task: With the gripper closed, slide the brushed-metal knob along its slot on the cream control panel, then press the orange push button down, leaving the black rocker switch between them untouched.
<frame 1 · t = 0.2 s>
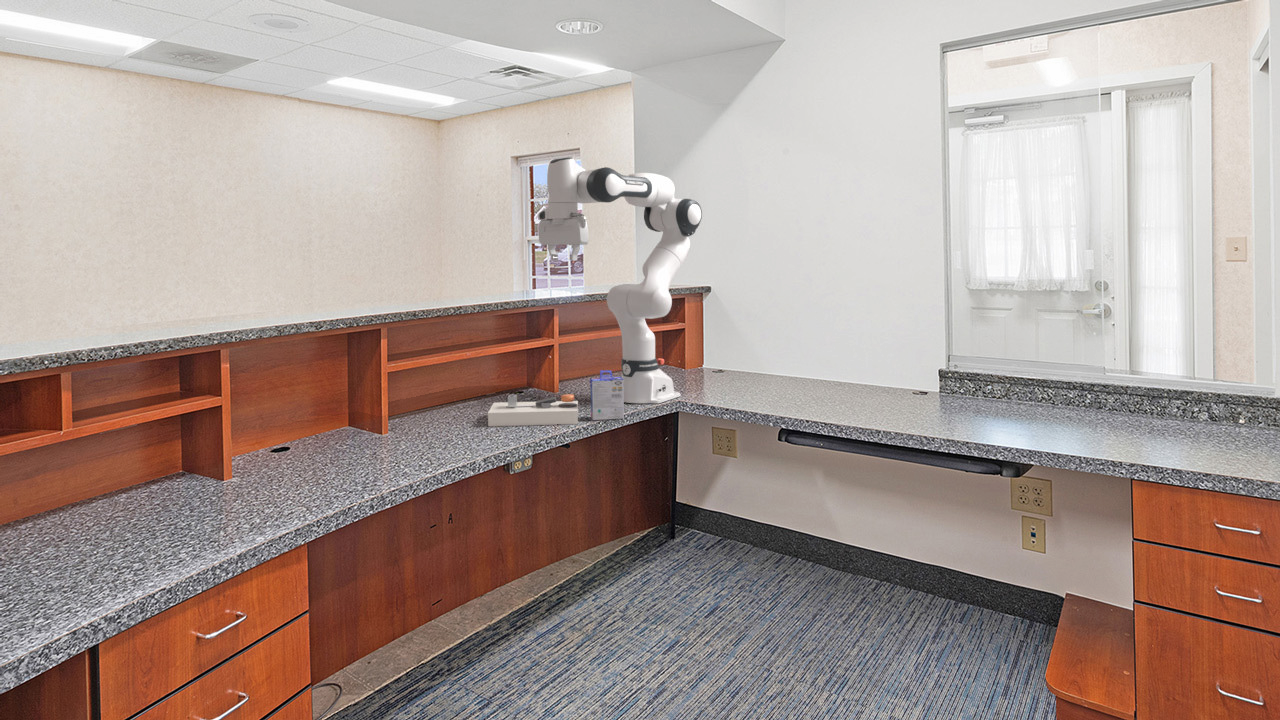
hand: (563, 260, 217), 48 cm above the worktop, fingers open, 8 cm apart
rocker switch: (546, 401, 218), point 6 cm above the worktop, hinge at 12.0°
slider knob: (512, 400, 217), point 6 cm above the worktop, slide at 0.0 cm
push button: (567, 398, 218), point 6 cm above the worktop, slide at 0.0 cm
ink cartridge box: (607, 418, 220), on the worktop
control panel: (534, 419, 218), on the worktop
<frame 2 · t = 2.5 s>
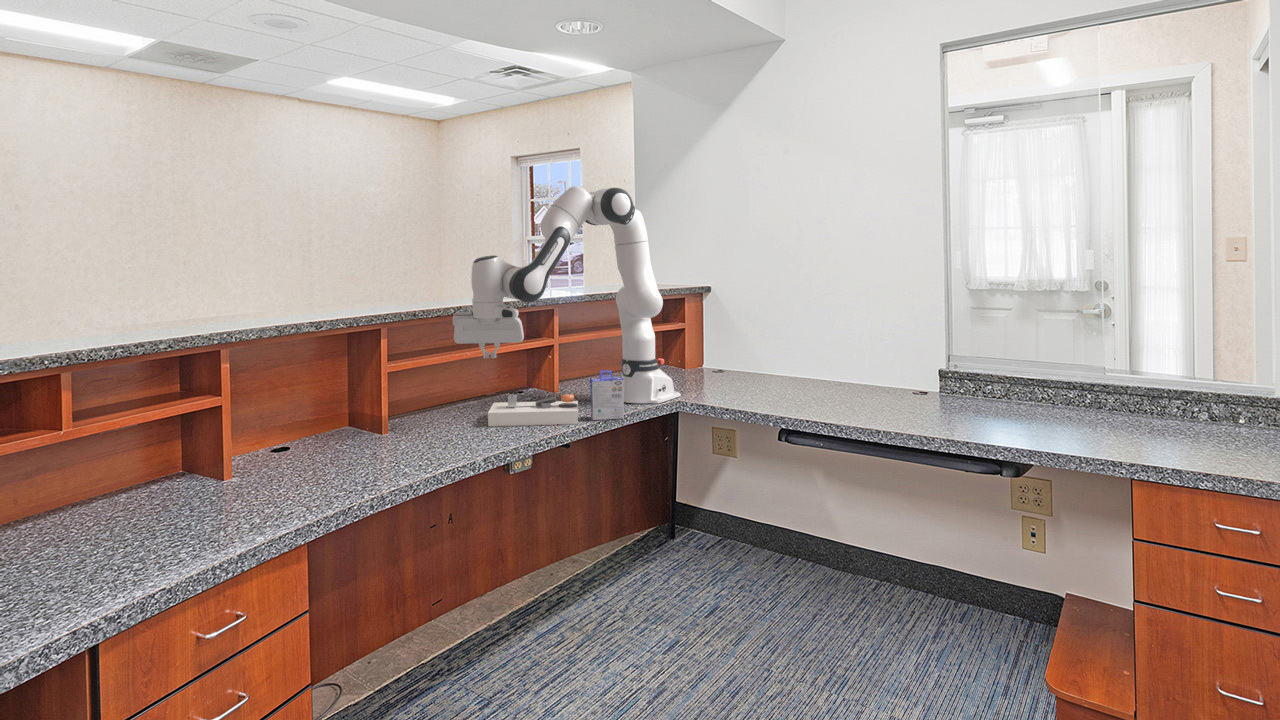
hand: (490, 357, 214), 19 cm above the worktop, fingers closed
nothing on the worktop moved.
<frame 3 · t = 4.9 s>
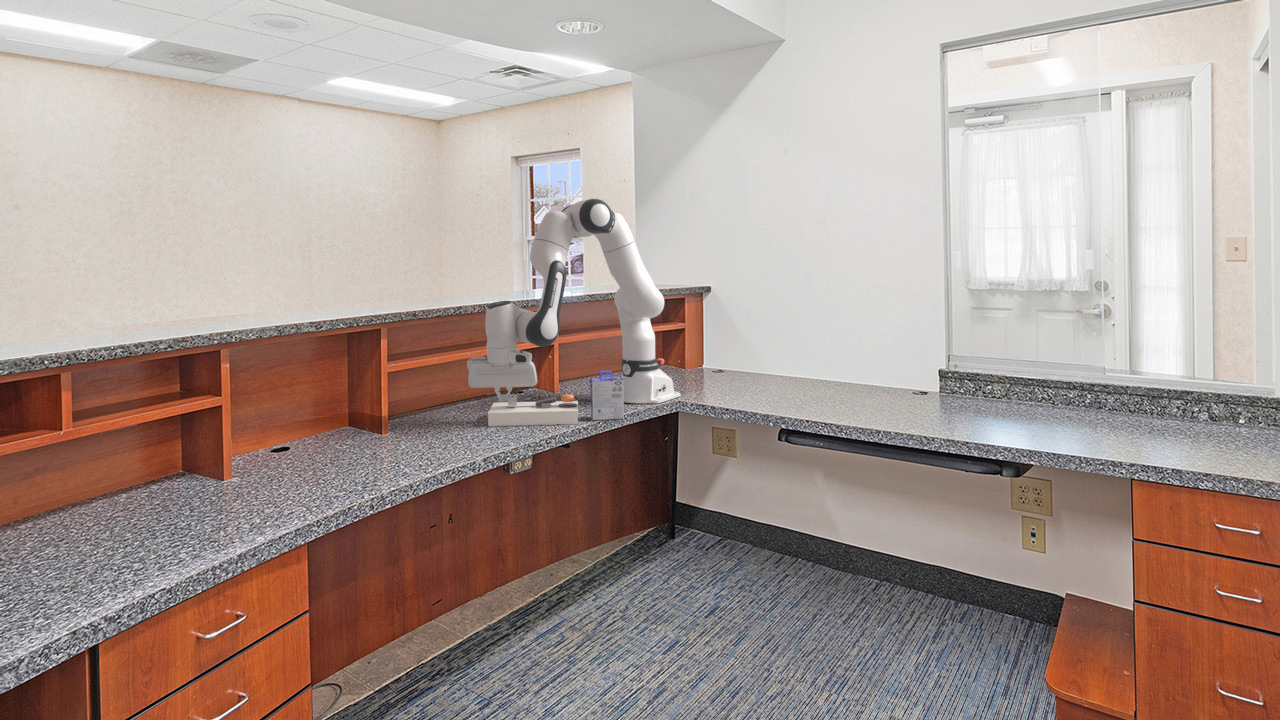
hand: (503, 401, 217), 6 cm above the worktop, fingers closed
slider knob: (512, 400, 217), point 6 cm above the worktop, slide at 0.1 cm, touching gripper
everything else where it was.
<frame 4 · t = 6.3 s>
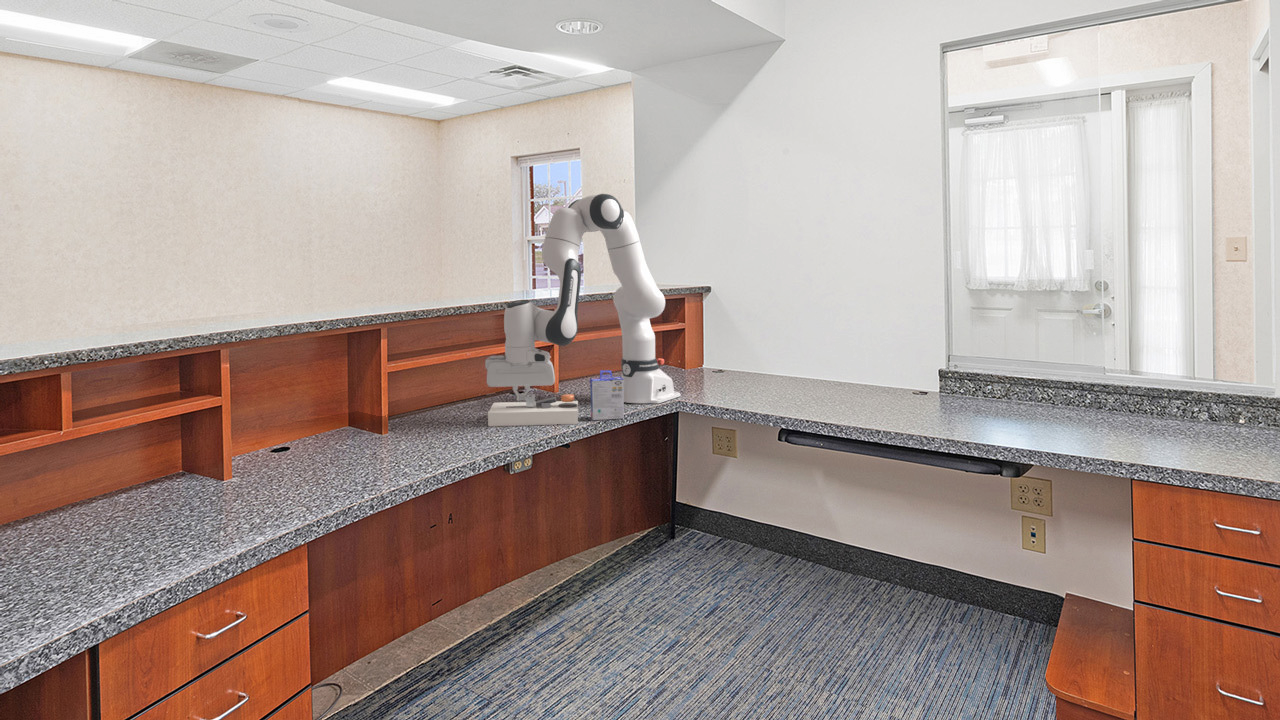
hand: (521, 400, 217), 6 cm above the worktop, fingers closed
slider knob: (530, 399, 217), point 6 cm above the worktop, slide at 5.4 cm, touching gripper
everything else where it was.
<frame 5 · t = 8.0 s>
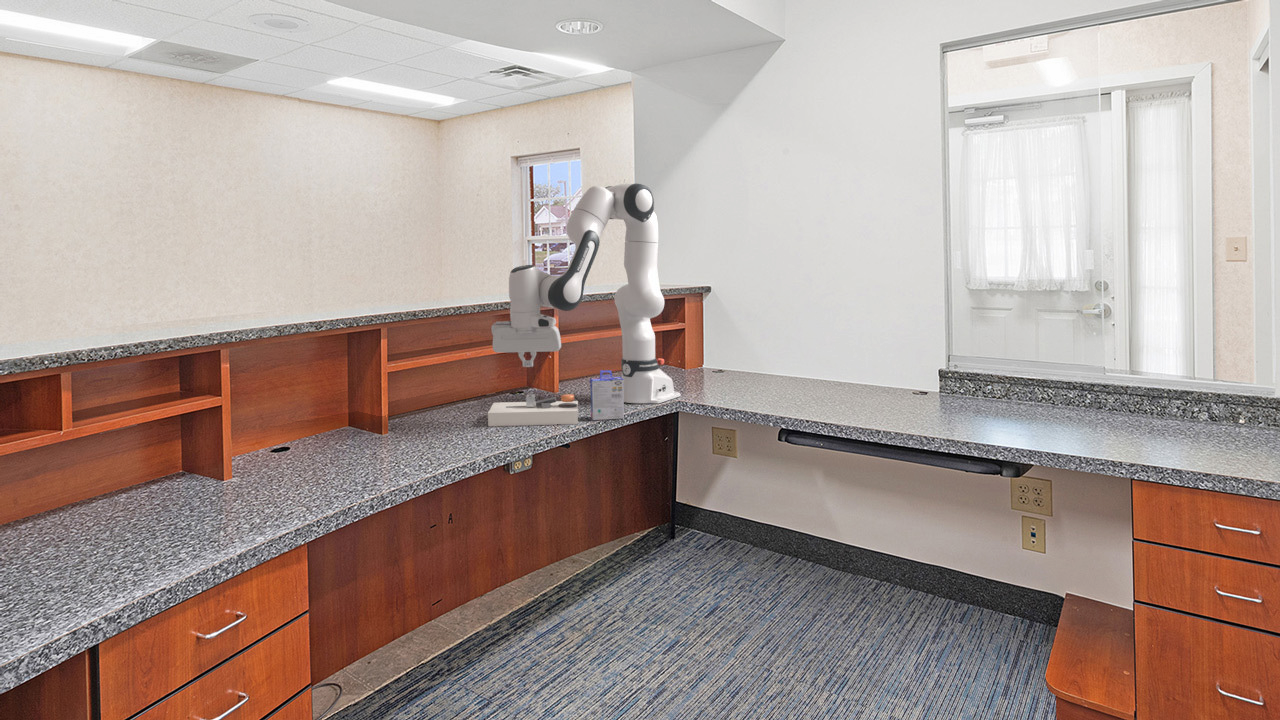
hand: (528, 366, 216), 16 cm above the worktop, fingers closed
slider knob: (530, 399, 217), point 6 cm above the worktop, slide at 5.4 cm
everything else where it was.
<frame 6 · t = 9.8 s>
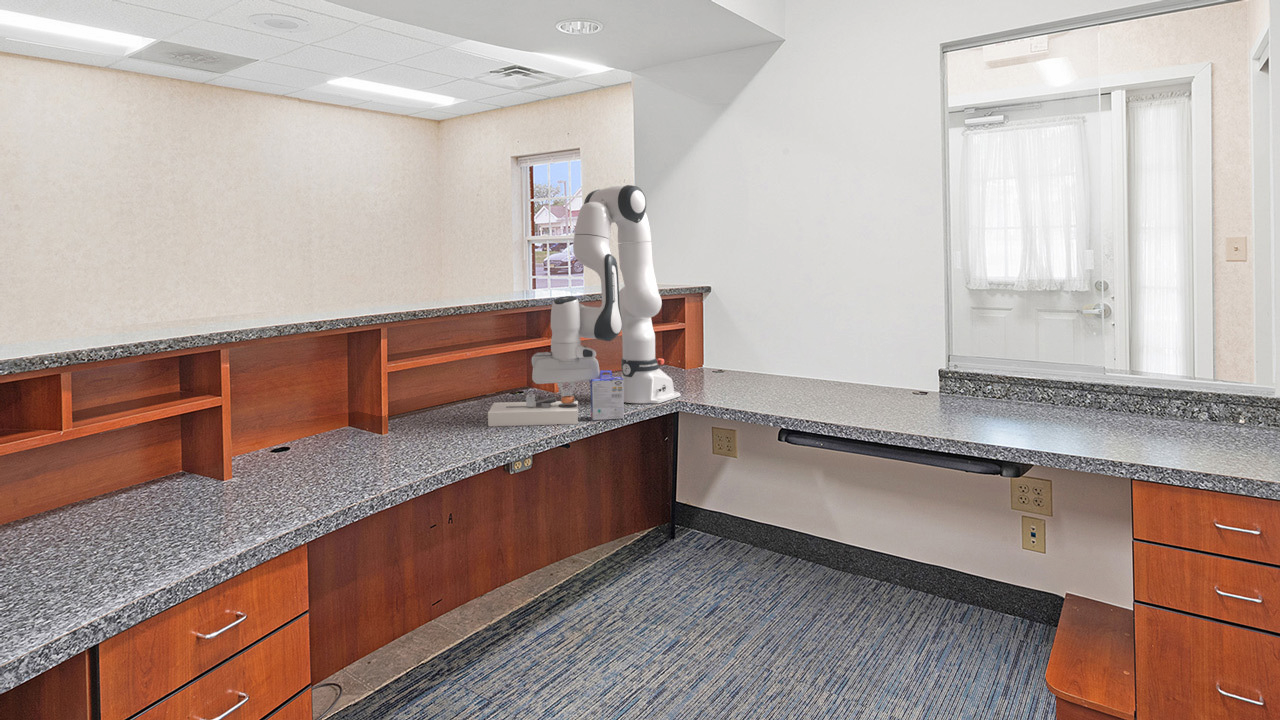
hand: (566, 396, 218), 7 cm above the worktop, fingers closed, pressing on push button
push button: (567, 399, 218), point 6 cm above the worktop, slide at 0.4 cm, touching gripper
everything else where it was.
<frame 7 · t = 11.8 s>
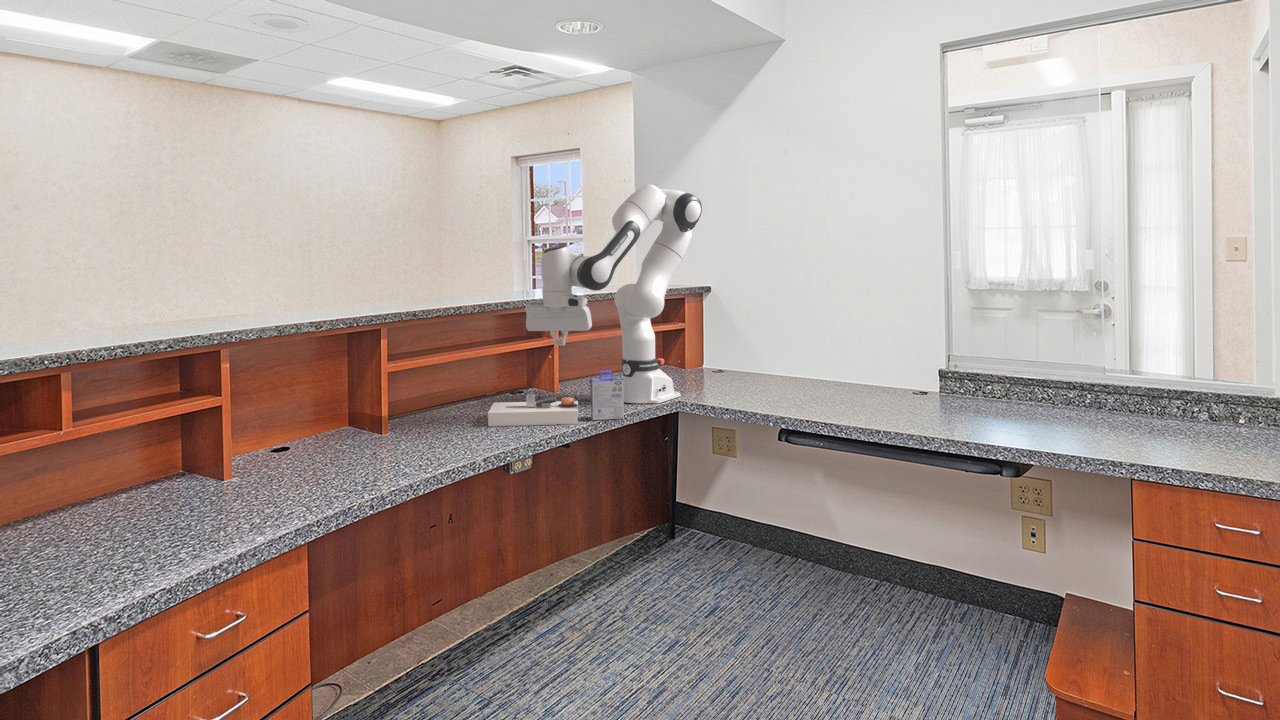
hand: (559, 345, 221), 22 cm above the worktop, fingers closed
push button: (567, 401, 218), point 5 cm above the worktop, slide at 1.0 cm
everything else where it was.
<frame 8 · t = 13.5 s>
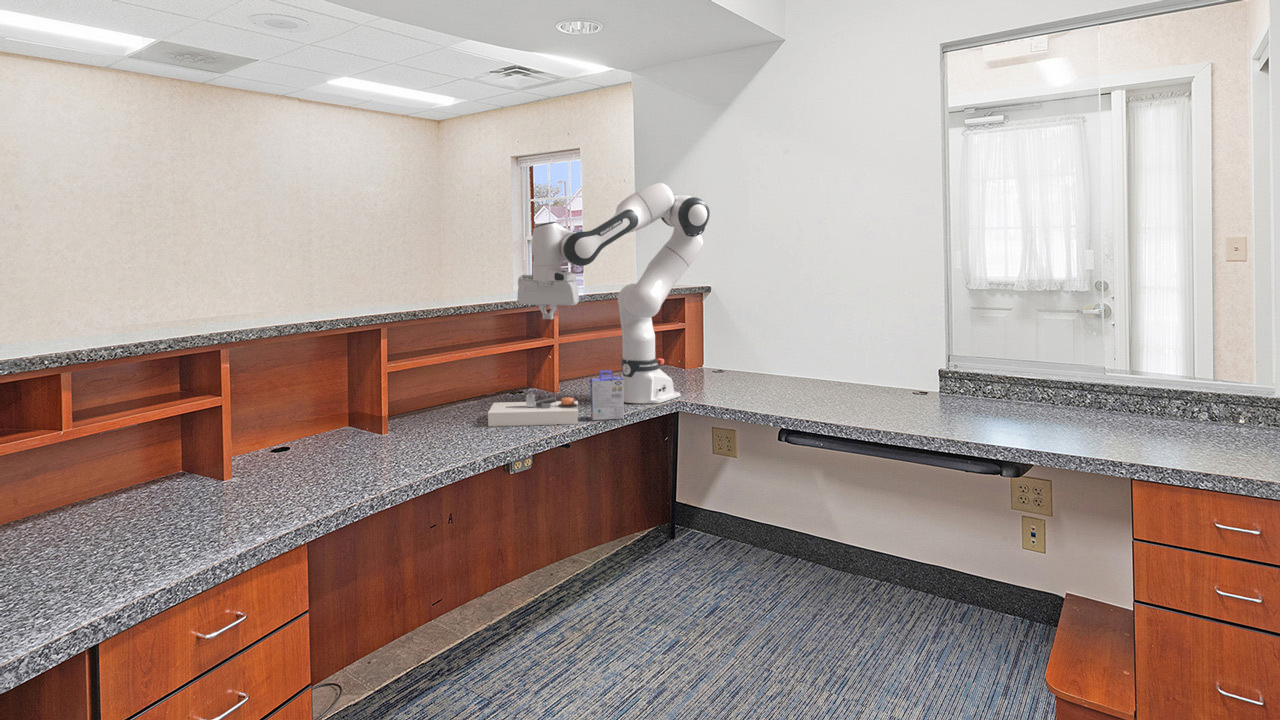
hand: (548, 319, 227), 29 cm above the worktop, fingers closed
nothing on the worktop moved.
at the end: slider knob slide at 5.4 cm; push button slide at 1.0 cm; rocker switch at +12° (first picture: +12°) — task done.
